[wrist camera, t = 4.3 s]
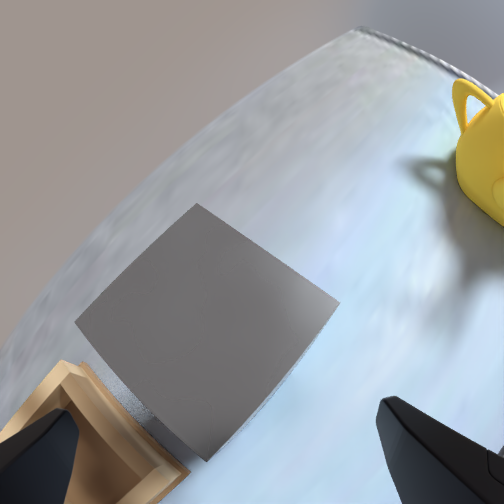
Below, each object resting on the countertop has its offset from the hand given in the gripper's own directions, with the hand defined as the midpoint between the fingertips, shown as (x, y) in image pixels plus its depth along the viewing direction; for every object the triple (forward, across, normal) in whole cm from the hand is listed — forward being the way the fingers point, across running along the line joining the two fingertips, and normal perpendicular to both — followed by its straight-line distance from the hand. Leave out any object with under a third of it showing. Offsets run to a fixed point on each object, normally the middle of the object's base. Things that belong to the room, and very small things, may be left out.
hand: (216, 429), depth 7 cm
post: (+9, 0, +5) cm, 10 cm away
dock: (+4, +10, +9) cm, 14 cm away
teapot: (+20, -27, -5) cm, 34 cm away
